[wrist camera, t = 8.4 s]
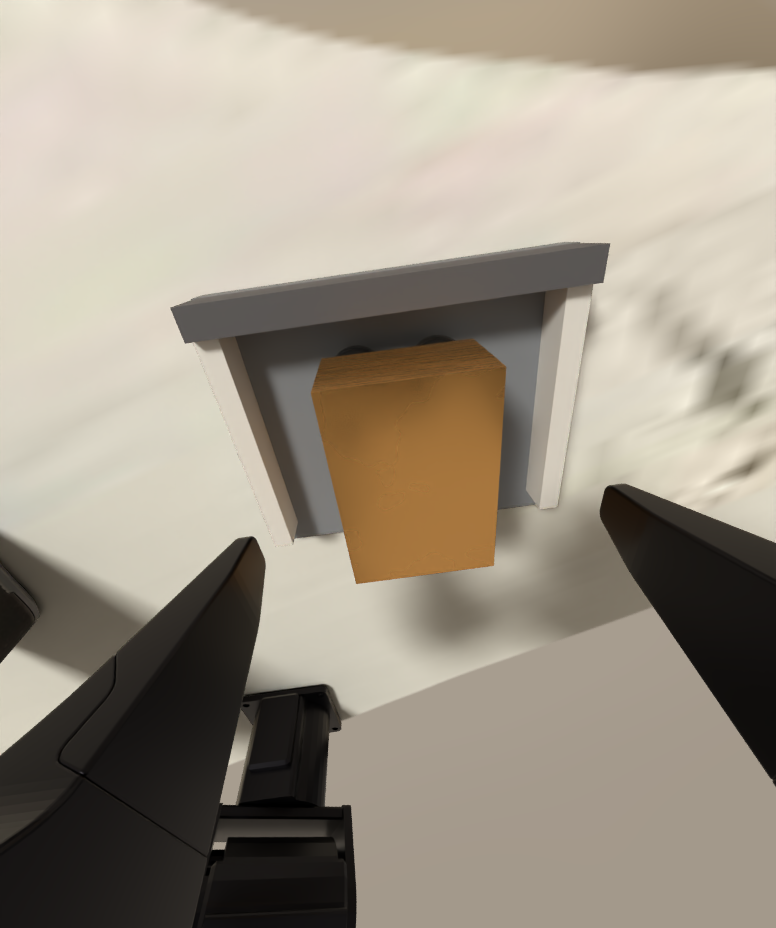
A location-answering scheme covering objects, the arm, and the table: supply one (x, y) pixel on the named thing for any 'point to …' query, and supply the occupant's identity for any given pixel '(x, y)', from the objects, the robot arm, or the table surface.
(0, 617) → the electronic device
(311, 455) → the dock
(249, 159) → the table surface
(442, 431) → the trolley
